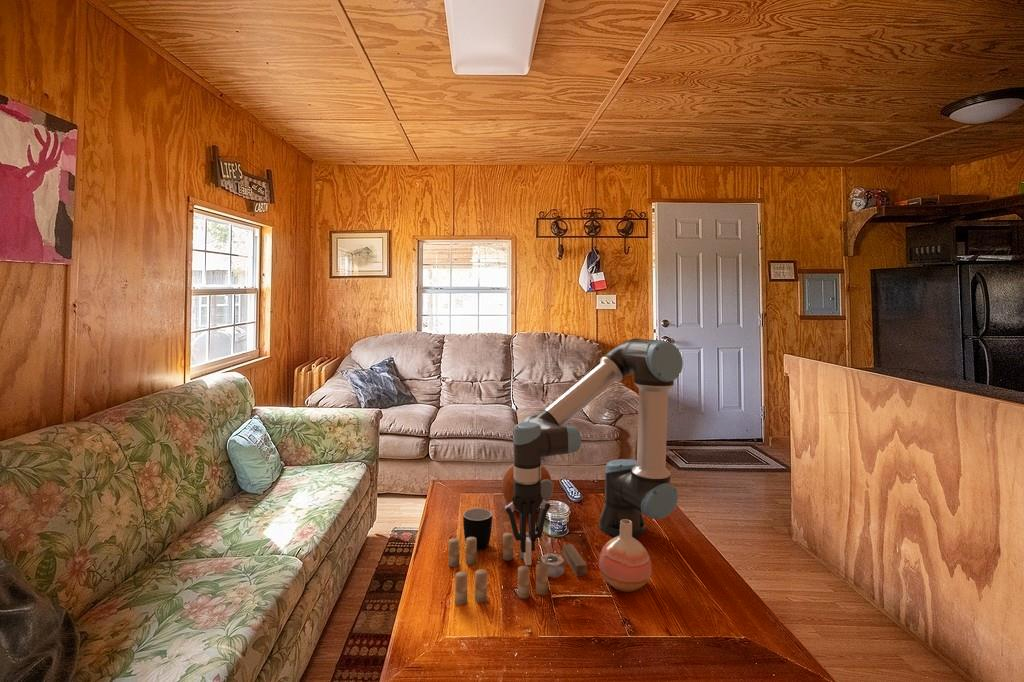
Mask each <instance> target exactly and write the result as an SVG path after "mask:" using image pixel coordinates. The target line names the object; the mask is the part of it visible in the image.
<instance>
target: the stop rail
mask: <svg viewBox="0 0 1024 682" xmlns="http://www.w3.org/2000/svg"><path fill="white" fill-rule="evenodd" d="M561 554H562V555H561V556H562V557H564V558H563V559H564V560H565V561H566V562H567V565H568V566H569V568H570V569H571V571H572V572H573V574H574V575H575V577H585V576H587V575H588V574H587V573H588V569H587V568H588V565H587V563H586V561H585V560H584V558H582V555H580V553H579V551H578V550H577V549H576V548H575V546H574V545H573V544H572V543H571V544H570V543H568V544H562V553H561Z"/></svg>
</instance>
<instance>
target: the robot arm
mask: <svg viewBox="0 0 1024 682" xmlns="http://www.w3.org/2000/svg"><path fill="white" fill-rule="evenodd" d="M683 364H684V361H683V356H682V353H681V351H680V350H679V348H677V346H676V345H674V344H673V343H671V342H669V341H664V340H661V339H647V338H646V339H644V338H636V337H635V338H631V339H627V340H625V341H623V342H622V343H619V344H617V346H615V347H613V348H612V349H610V350H609V351H608V352H606V354H604V355H603V356H602V357H600V359H599V364H597V365H596V366H595V367H593V368H592V369H591V370H590V371H588V372H587V374H585V375H584V376H583V377H581V379H579V380H578V381H577V382H575V383H574V384H573V385H572V386H571V387H570V388H569V389H567V390H566V391H565V392H564V393H562V394H561V395H560V396H559V397H558V398H556V399H555V400H554V401H553V402H552V403H551V404H549V405H548V406H547V407H546V408H545V409H543V410H542V411H541V412H540V413H538V414H530V415H528V416H527V417H526V418H524V420H523V421H522V422H519V423H516V425H515V426H514V427H513V436H512V442H513V464H514V479H515V480H514V496H513V499H512V502H511V503H510V504H509V505H508V503H507V504H505V505H504V506H503V508H504V510H505V511H506V513H507V515H508V518H509V523H510V526H511V531H512V534H513V538H514V539H515V540H516V541H519V550H520V549H521V551H522V553H524V559H523V562H524V564H525V566H531V565H532V552H535V549H536V543H535V542H537V539H541V538H542V536H543V530H544V527H545V522H546V518H547V513H548V511H549V510H550V509H551V504H550V502H549V501H545V500H543V498H542V496H541V481H540V479H541V465H542V458H544V457H545V458H547V457H551V456H558V455H568V454H571V453H572V454H573V453H576V452H578V451H579V450H580V449H581V445H582V437H581V433H580V430H579V429H578V428H577V427H576V426H574V425H566V424H567V423H568V422H570V421H571V419H573V418H574V417H575V416H576V415H577V414H578V413H580V412H581V411H583V409H585V408H586V407H587V406H588V405H589V404H590V403H591V402H593V401H594V400H595V399H596V398H597V397H598V396H600V395H601V394H602V393H604V391H606V390H607V389H609V387H610V386H611V385H613V384H614V383H615V382H621V381H622V380H623V379H625V378H626V377H629V376H631V375H632V376H633V375H634V376H633V377H634V379H633V383H634V385H635V387H637V388H638V411H637V413H638V414H637V416H638V417H637V441H636V442H637V448H636V449H637V450H636V452H637V453H636V459H627V458H626V459H625V458H622V459H619V458H618V459H613V460H609V461H608V462H607V463H606V466H605V470H604V471H605V472H604V475H605V476H604V477H605V479H604V481H605V483H604V484H605V485H604V491H605V492H604V505H603V508H602V511H601V512H600V516H599V519H598V526H599V529H600V530H601V531H602V532H603V533H605V534H607V535H609V536H612V537H617V536H619V535H620V521H621V520H622V519H628V520H630V521H632V537H633V538H638V537H641V536H642V535H643V534H644V533H645V530H646V523H645V520H644V516H646V517H649V518H651V519H654V520H662V519H665V518H667V517H668V516H669V515H670V514H671V513H672V512H673V511H674V509H675V508H676V506H677V504H678V499H679V493H678V490H677V489H676V486H674V485H673V484H672V483H671V475H672V473H671V471H670V470H669V469H668V468H667V467H666V465H667V461H666V460H667V436H668V432H667V431H668V430H667V429H668V405H669V404H668V403H669V390H670V389H671V388H673V387H674V384H675V383H674V381H675V380H676V379H678V378H679V376H680V374H681V373H682V371H683V366H684V365H683ZM540 504H541V505H540ZM514 506H515V507H516V508H517V510H518V511H519V513H518V514H519V529H518V525H517V522H516V518H515V515H514V513H513V512H514V511H515V510H514ZM539 506H541V508H540V509H538V507H539ZM537 509H538V510H539V514H538V518H537V522H536V517H537V516H536V515H537V513H536V511H538V510H537ZM518 511H517V512H518ZM527 514H528V516H527ZM643 515H644V516H643ZM527 517H528V533H529V537H526V532H527Z"/></svg>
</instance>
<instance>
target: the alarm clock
mask: <svg viewBox="0 0 1024 682" xmlns="http://www.w3.org/2000/svg"><path fill="white" fill-rule="evenodd" d="M514 480H515V479H514V463H512V465H510V466H509V467H508V468H507V469H506V471H505V473H504V474H503V477H502V478H501V492H502V494H503V497H504V499H505V502H506V503H507V505H509V504H510V503H511V502H512V499H513V496H514ZM540 481H541V496H542V498H543V500H545V501H548V502H549V501H550V500H551V498H552V496H553V492H554V487H555V486H554V484H553V483H554V482H553V479H552V477H551V475H550V473H549V471H548V470H547V468H546V467H545V466H543V465H542V464H541V479H540ZM540 505H541V504H540ZM539 508H540V506H539V507H538V509H537V510H536V511H539V510H540V509H539ZM514 511H516V512H519V511H518V510H517V508H516V507H515V506H514Z"/></svg>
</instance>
